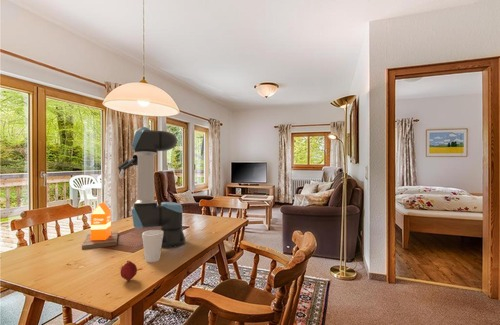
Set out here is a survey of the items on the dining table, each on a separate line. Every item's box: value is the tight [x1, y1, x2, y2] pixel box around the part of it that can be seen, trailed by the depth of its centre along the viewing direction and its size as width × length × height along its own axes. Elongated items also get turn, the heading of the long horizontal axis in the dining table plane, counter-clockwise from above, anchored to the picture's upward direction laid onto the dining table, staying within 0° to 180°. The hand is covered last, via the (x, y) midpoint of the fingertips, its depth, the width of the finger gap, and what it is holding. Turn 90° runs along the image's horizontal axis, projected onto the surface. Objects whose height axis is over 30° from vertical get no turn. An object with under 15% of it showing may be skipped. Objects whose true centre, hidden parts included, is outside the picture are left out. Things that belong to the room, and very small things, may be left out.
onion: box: [120, 260, 138, 282], centre depth 98 cm, size 6×6×8 cm
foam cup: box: [141, 229, 163, 263], centre depth 119 cm, size 10×9×13 cm
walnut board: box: [81, 230, 119, 250], centre depth 144 cm, size 22×16×2 cm
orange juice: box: [90, 201, 112, 240], centre depth 144 cm, size 8×9×20 cm
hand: (130, 177), depth 161 cm, fingers open, 13 cm apart
